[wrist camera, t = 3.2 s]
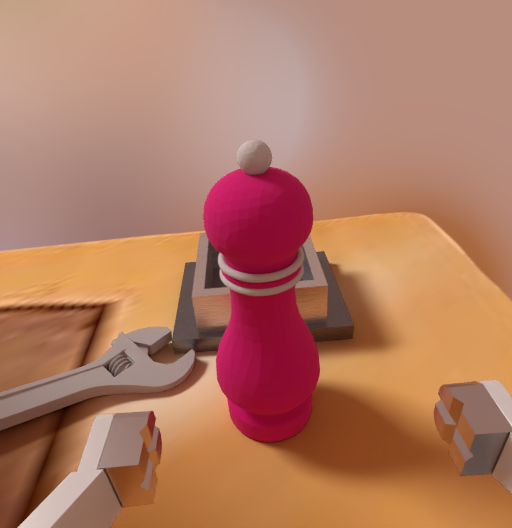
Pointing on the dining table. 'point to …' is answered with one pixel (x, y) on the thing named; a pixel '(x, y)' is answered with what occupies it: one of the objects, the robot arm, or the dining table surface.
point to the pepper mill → (263, 295)
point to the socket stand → (219, 301)
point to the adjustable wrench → (100, 377)
